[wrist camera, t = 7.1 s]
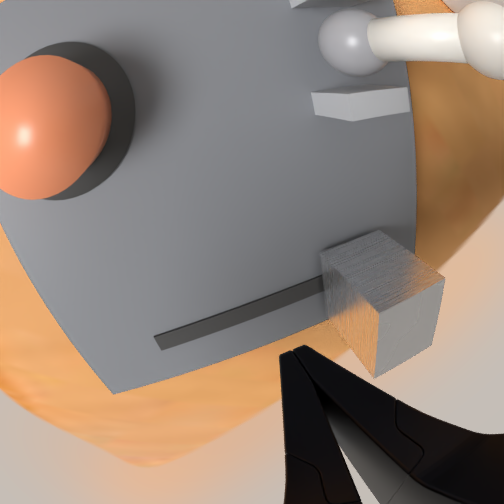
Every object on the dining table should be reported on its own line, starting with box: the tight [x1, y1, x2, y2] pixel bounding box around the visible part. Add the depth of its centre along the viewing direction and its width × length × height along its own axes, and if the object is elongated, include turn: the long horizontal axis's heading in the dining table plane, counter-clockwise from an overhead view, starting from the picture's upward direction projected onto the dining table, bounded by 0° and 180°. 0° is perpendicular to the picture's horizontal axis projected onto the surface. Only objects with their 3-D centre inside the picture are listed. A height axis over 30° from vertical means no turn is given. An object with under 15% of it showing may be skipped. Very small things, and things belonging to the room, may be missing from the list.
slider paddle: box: [320, 230, 445, 378], centre depth 10 cm, size 2×3×4 cm
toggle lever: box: [318, 1, 504, 80], centre depth 5 cm, size 2×2×6 cm
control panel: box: [0, 0, 417, 394], centre depth 9 cm, size 14×14×4 cm
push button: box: [0, 55, 112, 200], centre depth 6 cm, size 3×3×2 cm
